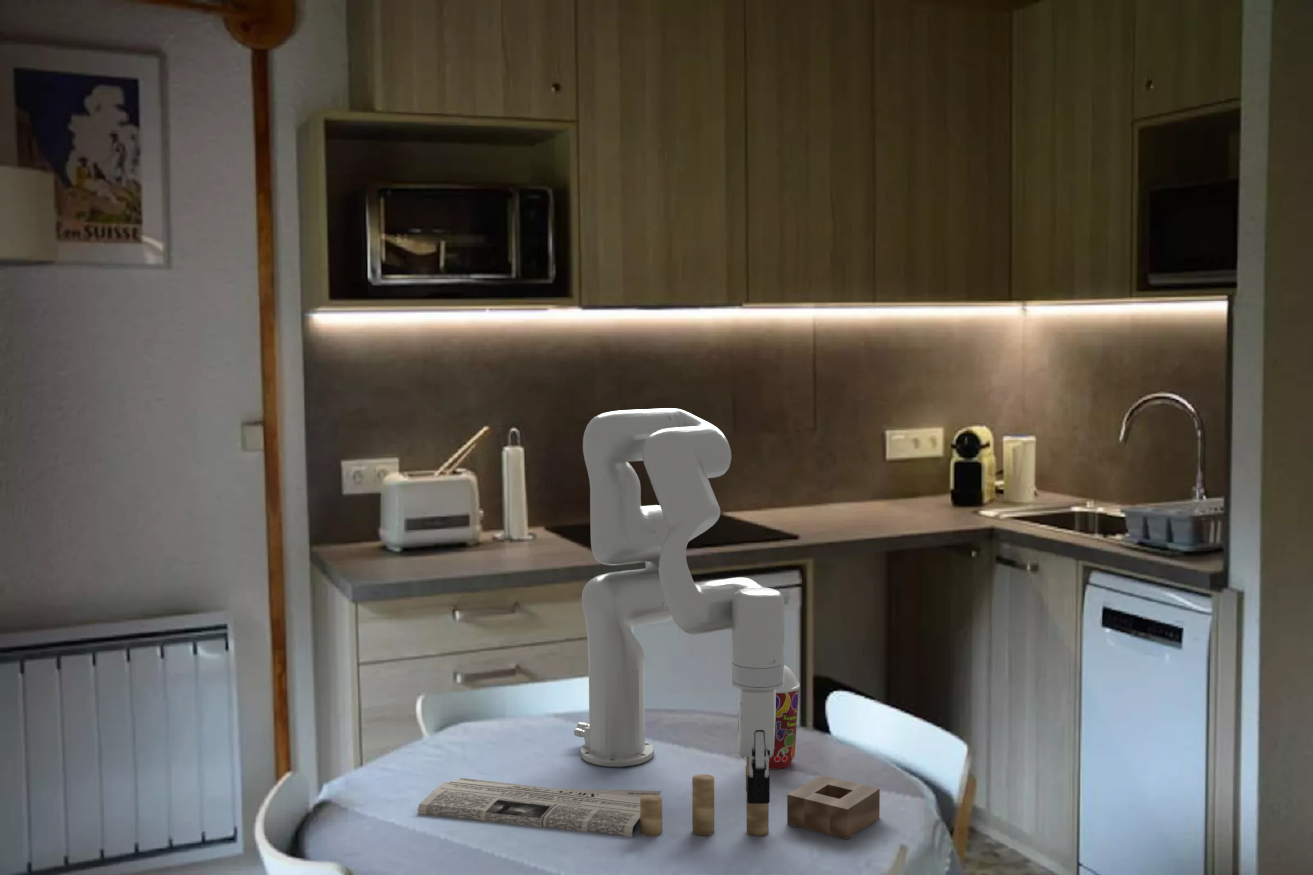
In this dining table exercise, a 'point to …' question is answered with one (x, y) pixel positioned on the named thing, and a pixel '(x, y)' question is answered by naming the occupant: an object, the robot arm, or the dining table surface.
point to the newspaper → (537, 806)
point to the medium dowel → (703, 804)
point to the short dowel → (651, 815)
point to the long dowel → (757, 813)
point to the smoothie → (785, 721)
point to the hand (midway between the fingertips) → (757, 796)
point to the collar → (833, 806)
